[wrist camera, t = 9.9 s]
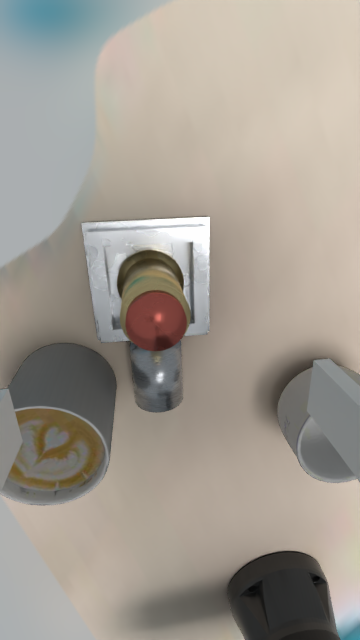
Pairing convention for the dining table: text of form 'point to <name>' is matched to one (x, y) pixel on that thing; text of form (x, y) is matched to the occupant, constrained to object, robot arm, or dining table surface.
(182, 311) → the cylinder
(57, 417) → the coffee mug
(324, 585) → the robot arm
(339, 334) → the dining table surface
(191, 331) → the flange seat
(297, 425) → the teacup
